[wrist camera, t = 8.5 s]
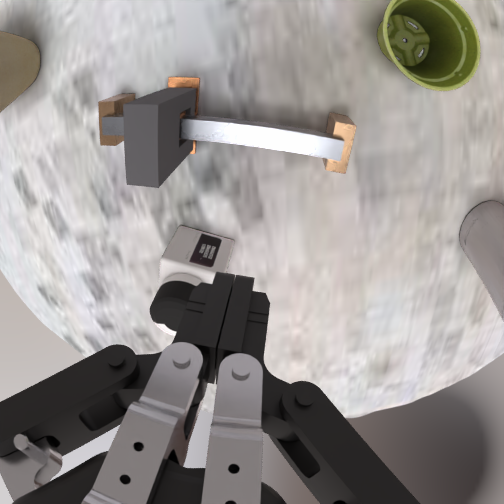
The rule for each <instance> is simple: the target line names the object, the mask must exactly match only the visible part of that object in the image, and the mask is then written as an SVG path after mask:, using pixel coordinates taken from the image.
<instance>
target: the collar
mask: <svg viewBox="0 0 504 504" xmlns="http://www.w3.org/2000/svg"><path fill="white" fill-rule="evenodd" d="M195 102H196V88H176V87H169V88H166V89H163V90H160V91H157V92H155V93H152V94H149V95H146V96H144V97H141V98H138V99H136V100H133V101H131V102H128V103H126V104H123V120H124V148H125V166H126V180H127V185H137V186H146V187H155V188H159V187H160V186H161V185H162V183H163V182H164V181H165V180H166V179H167V178H168V177H169V175H170V174H171V173H172V172H173V171H174V170H175V169H176V168H177V167H178V165H179V164H180V163H181V162H182V161H183V160H184V159H185V158H186V157H187V156H188V155H189V154H190V152H191V151H192V150H193V141H194V140H189V139H179V128H180V113H182V112H183V111H185V115H195Z"/></svg>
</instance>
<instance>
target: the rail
mask: <svg viewBox="0 0 504 504" xmlns="http://www.w3.org/2000/svg"><path fill="white" fill-rule="evenodd" d="M199 82H200V78H190V77H169V79H168V88H169V87H176V88H196V102H195V115H185V111H183V112H182V113H180V128H179V139H189V140H194V141H193V150H192V151H191V152H190V153H191V154H195V153H196V140H201V141H211V142H220V143H229V144H238V145H246V146H253V147H260V148H267V149H274V150H281V151H287V152H293V153H299V154H305V155H310V156H316V157H321V158H323V162H324V165H325V169H326V170H328V171H334V172H339V173H344V174H345V173H346V169H347V165H348V161H349V156H350V152H351V148H352V144H353V139H354V135H355V130H356V125H355V124H354V123H353V122H352V120H351V119H350V118H349V117H348V116H345V115H341V114H336V113H331V112H330V114H329V119H328V124H327V129H326V133H325V132H319V131H314V130H309V129H303V128H297V127H291V126H285V125H278V124H272V123H264V122H257V121H249V120H241V119H232V118H222V117H211V116H198V115H197V112H198V96H199ZM133 100H135V94H119V95H116V96H113V97H110V98H108V99H105V100H102V101H99V102H98V103H99V128H100V144H101V145H109V146H116V145H118V144H119V143H121V142H122V141H124V120H123V104H126V103H128V102H131V101H133Z"/></svg>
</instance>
